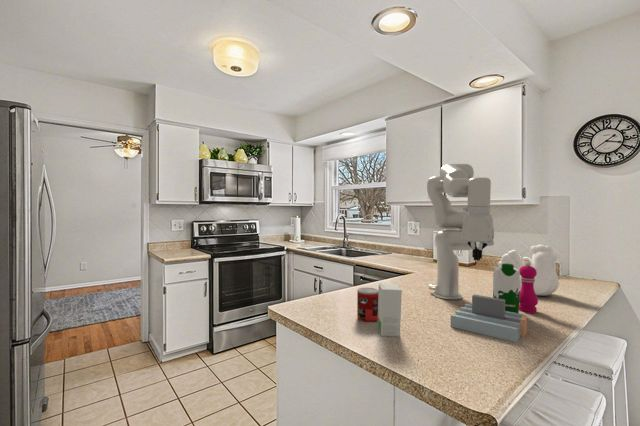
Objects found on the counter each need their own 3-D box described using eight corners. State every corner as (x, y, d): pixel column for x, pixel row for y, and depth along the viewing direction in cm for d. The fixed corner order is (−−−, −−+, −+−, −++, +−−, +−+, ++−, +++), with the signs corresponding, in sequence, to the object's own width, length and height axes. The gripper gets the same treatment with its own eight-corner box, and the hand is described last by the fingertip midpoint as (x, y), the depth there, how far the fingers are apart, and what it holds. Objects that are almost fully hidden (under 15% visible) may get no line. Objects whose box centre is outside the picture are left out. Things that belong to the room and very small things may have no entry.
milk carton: (495, 315, 122) (496, 264, 121) (491, 308, 130) (491, 261, 130) (521, 318, 119) (522, 266, 119) (515, 311, 127) (515, 262, 127)
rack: (450, 326, 110) (450, 310, 110) (465, 313, 124) (466, 299, 124) (521, 343, 96) (521, 325, 96) (529, 326, 110) (529, 311, 110)
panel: (504, 325, 108) (505, 299, 108) (503, 327, 106) (503, 301, 106) (473, 318, 115) (474, 294, 115) (471, 320, 113) (472, 295, 113)
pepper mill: (541, 314, 124) (542, 263, 124) (521, 312, 125) (521, 263, 125) (532, 308, 131) (533, 261, 131) (514, 307, 132) (514, 260, 132)
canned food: (355, 315, 121) (355, 287, 121) (375, 315, 121) (375, 287, 121) (359, 323, 113) (359, 292, 113) (381, 322, 114) (381, 292, 114)
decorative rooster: (563, 295, 151) (564, 244, 151) (550, 301, 142) (551, 246, 142) (508, 285, 171) (508, 240, 171) (494, 289, 162) (494, 241, 162)
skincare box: (377, 327, 109) (377, 282, 109) (396, 327, 109) (396, 283, 109) (381, 336, 101) (381, 288, 101) (401, 337, 101) (402, 289, 100)
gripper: (454, 210, 118) (453, 258, 119) (499, 212, 108) (497, 264, 109) (460, 210, 124) (459, 256, 124) (503, 211, 114) (501, 261, 115)
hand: (477, 259), depth 117 cm, fingers closed
